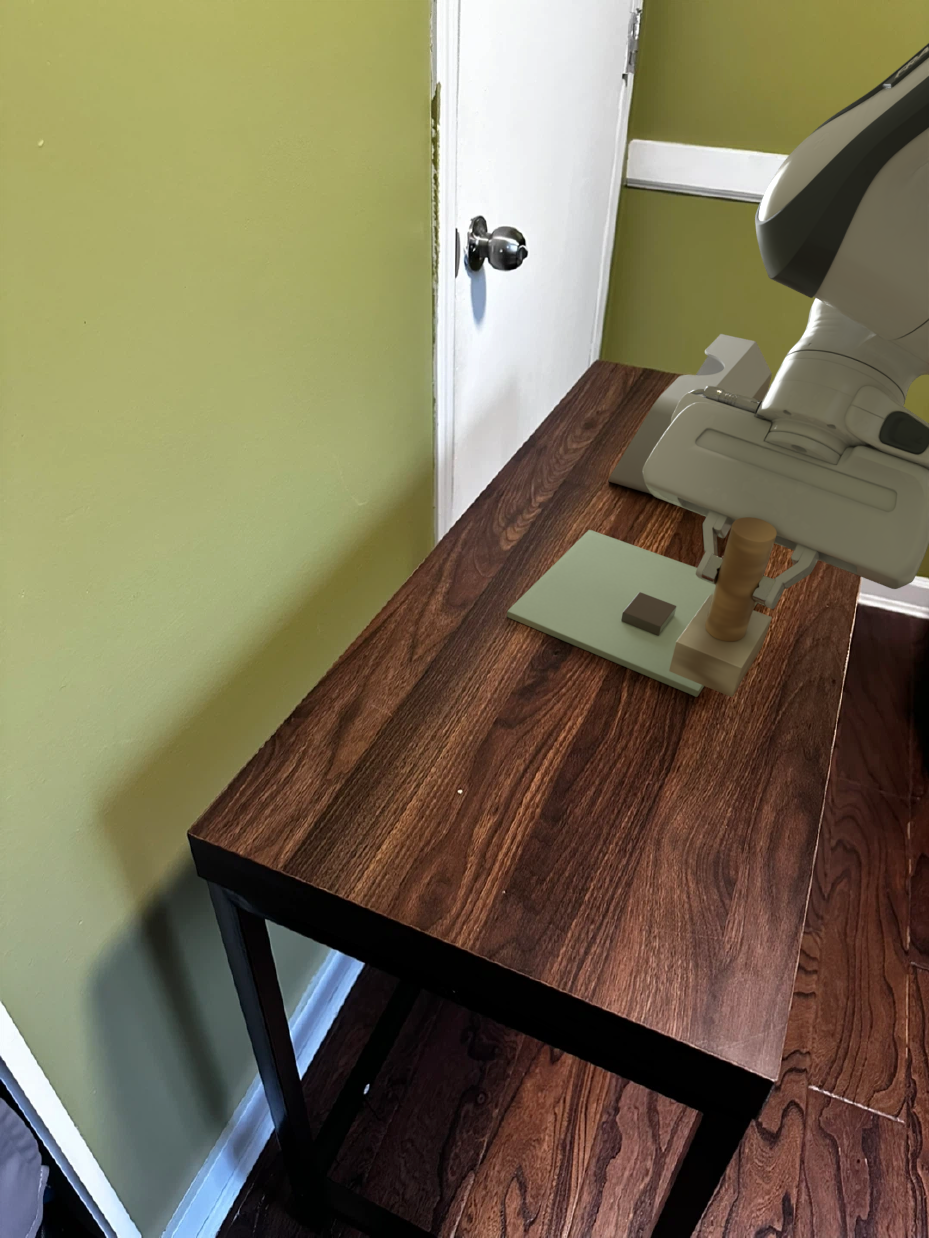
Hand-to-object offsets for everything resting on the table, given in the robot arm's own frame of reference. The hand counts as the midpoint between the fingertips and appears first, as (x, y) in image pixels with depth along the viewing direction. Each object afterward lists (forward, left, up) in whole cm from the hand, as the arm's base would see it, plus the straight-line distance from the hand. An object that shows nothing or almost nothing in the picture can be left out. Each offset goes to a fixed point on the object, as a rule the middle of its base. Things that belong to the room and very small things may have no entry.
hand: (733, 592), depth 62 cm
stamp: (0, -1, -7) cm, 7 cm away
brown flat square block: (+10, -13, -16) cm, 23 cm away
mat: (+12, -15, -17) cm, 25 cm away
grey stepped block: (+18, -48, -17) cm, 54 cm away
